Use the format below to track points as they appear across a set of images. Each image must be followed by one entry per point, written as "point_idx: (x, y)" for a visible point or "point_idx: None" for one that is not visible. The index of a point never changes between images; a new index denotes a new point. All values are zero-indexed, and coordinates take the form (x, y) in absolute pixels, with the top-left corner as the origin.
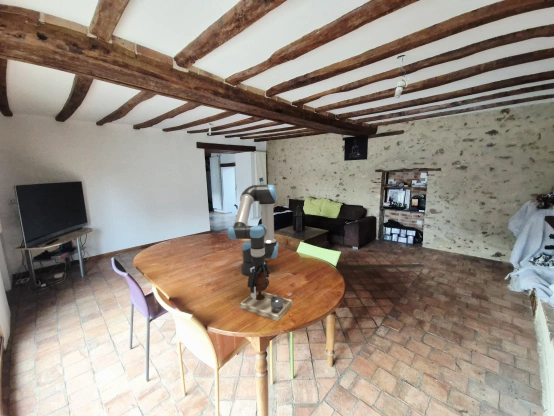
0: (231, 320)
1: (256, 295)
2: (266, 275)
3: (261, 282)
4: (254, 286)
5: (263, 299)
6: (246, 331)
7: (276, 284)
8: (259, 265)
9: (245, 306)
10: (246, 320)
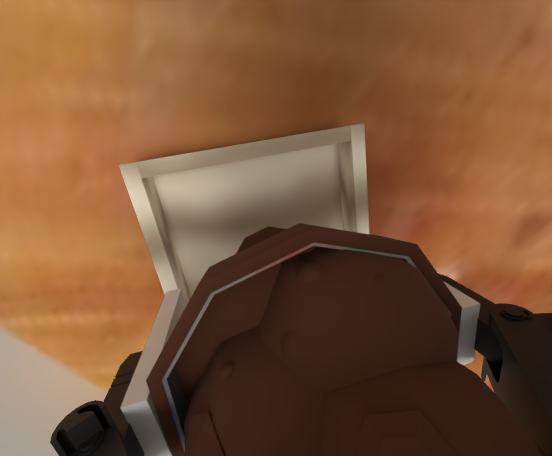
0: (11, 215)
1: (265, 238)
2: (500, 396)
3: None
4: (164, 447)
5: (316, 220)
6: (45, 352)
7: (510, 142)
8: None
9: (143, 223)
10: (101, 284)
